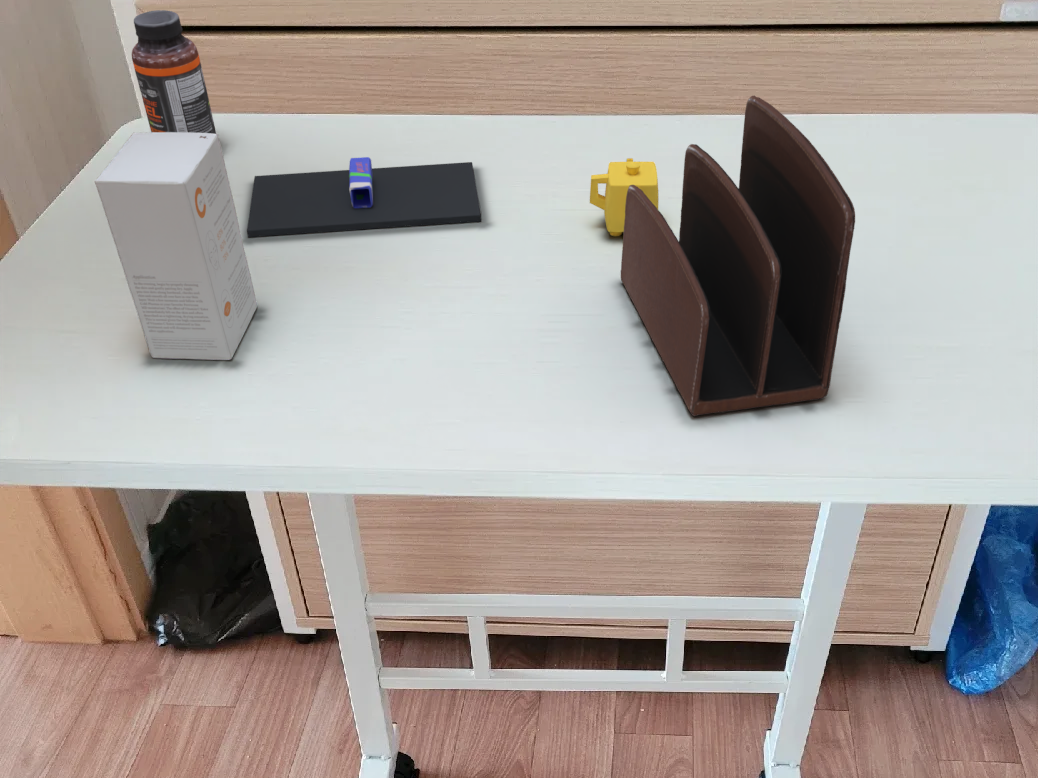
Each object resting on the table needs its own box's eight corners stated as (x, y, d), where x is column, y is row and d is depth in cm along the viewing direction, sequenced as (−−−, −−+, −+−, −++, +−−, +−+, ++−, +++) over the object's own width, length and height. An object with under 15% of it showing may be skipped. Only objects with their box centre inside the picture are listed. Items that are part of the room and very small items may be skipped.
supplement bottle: (145, 149, 107) (109, 16, 99) (199, 131, 110) (168, 0, 101) (176, 167, 104) (141, 32, 96) (230, 149, 107) (201, 16, 98)
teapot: (588, 204, 98) (589, 143, 94) (654, 204, 98) (658, 142, 94) (589, 247, 92) (590, 184, 89) (658, 247, 92) (663, 183, 88)
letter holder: (738, 267, 90) (761, 76, 79) (828, 401, 77) (870, 195, 66) (618, 281, 89) (626, 89, 78) (690, 420, 76) (710, 213, 65)
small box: (181, 304, 87) (132, 129, 78) (259, 306, 87) (220, 131, 77) (148, 359, 82) (91, 179, 72) (232, 362, 82) (186, 181, 72)
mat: (248, 237, 95) (246, 230, 94) (255, 182, 102) (254, 175, 102) (481, 221, 96) (480, 214, 95) (472, 168, 103) (472, 161, 103)
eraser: (351, 209, 97) (347, 186, 95) (352, 180, 100) (349, 157, 99) (374, 208, 97) (370, 184, 95) (374, 179, 101) (371, 156, 99)
